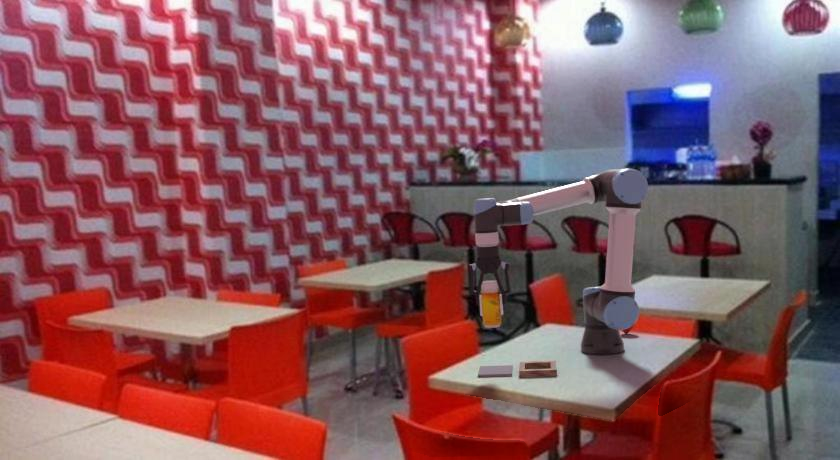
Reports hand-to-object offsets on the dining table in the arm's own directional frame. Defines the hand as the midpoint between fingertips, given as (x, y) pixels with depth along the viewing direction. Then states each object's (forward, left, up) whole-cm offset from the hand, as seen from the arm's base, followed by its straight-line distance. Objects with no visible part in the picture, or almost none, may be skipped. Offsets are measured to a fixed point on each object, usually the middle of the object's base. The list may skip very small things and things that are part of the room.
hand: (491, 314), depth 256 cm
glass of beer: (0, 0, -4) cm, 4 cm away
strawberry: (-48, -52, -20) cm, 73 cm away
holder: (-14, +1, -19) cm, 24 cm away
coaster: (0, 0, -19) cm, 19 cm away
